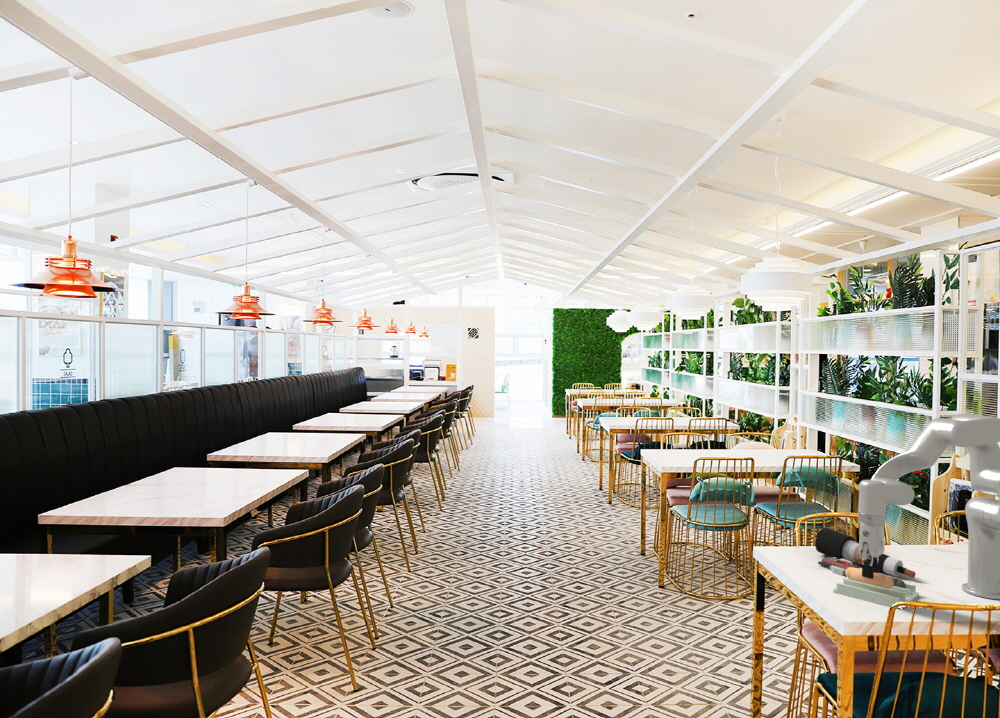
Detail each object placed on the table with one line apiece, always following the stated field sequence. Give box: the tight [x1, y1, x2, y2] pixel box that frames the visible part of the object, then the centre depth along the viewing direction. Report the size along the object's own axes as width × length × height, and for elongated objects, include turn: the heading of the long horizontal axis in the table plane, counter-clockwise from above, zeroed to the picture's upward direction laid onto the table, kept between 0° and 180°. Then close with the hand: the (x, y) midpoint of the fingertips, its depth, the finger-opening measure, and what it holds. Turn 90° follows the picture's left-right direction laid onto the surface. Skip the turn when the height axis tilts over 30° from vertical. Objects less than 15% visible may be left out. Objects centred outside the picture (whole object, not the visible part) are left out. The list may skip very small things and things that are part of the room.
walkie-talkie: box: [817, 556, 860, 577], centre depth 233 cm, size 9×4×20 cm
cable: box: [814, 527, 917, 579], centre depth 239 cm, size 10×34×10 cm, turn 30°
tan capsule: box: [845, 567, 894, 589], centre depth 208 cm, size 14×4×4 cm, turn 43°
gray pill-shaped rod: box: [890, 576, 906, 588], centre depth 215 cm, size 14×4×4 cm, turn 43°
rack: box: [832, 578, 920, 610], centre depth 211 cm, size 20×18×3 cm
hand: (869, 575), depth 208 cm, fingers closed on tan capsule, 3 cm apart
